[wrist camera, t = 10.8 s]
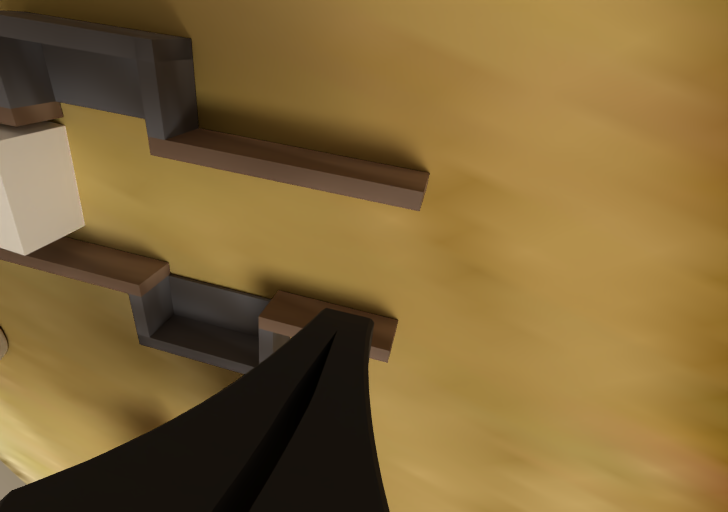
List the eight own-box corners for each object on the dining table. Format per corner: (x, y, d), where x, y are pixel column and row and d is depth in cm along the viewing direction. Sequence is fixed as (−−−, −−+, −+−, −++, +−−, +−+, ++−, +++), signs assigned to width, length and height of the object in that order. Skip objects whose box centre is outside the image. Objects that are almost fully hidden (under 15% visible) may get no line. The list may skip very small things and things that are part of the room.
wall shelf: (385, 378, 24) (375, 419, 22) (10, 276, 28) (-36, 300, 26) (449, 80, 16) (444, 89, 13) (-103, -9, 20) (-189, -15, 17)
